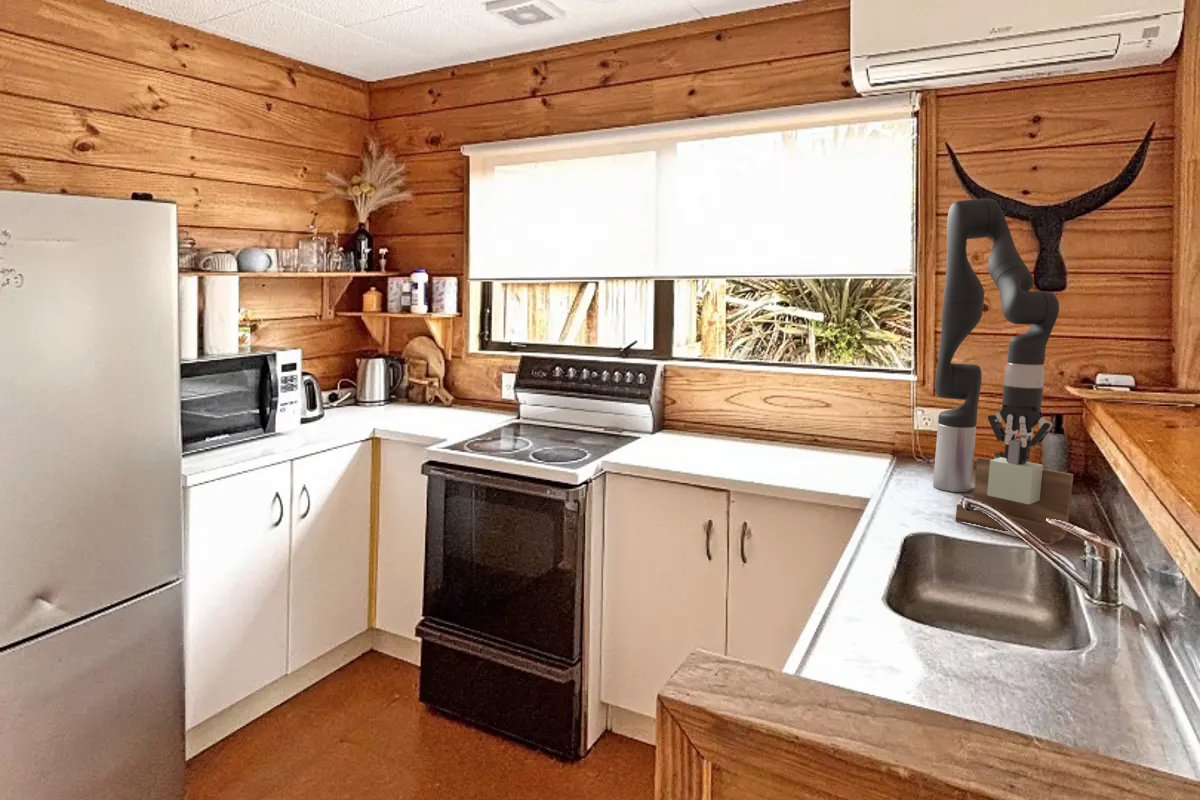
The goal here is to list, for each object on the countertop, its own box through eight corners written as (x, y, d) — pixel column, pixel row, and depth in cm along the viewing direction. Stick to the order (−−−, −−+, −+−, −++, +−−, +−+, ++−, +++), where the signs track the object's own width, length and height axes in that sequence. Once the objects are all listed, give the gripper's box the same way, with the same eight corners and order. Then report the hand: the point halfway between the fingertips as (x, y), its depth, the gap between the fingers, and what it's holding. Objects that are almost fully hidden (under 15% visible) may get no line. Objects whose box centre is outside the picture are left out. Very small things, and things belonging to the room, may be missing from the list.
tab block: (997, 491, 175) (1002, 435, 173) (1039, 500, 168) (1045, 442, 166) (987, 495, 172) (992, 438, 170) (1029, 504, 165) (1034, 445, 163)
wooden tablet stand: (974, 514, 181) (979, 456, 179) (1066, 537, 165) (1073, 474, 163) (955, 521, 176) (960, 462, 173) (1048, 545, 160) (1055, 480, 158)
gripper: (1065, 386, 163) (1057, 466, 165) (999, 379, 173) (992, 454, 176) (1049, 389, 158) (1041, 470, 161) (983, 381, 169) (976, 458, 172)
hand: (1016, 461), depth 168 cm, fingers closed on tab block
